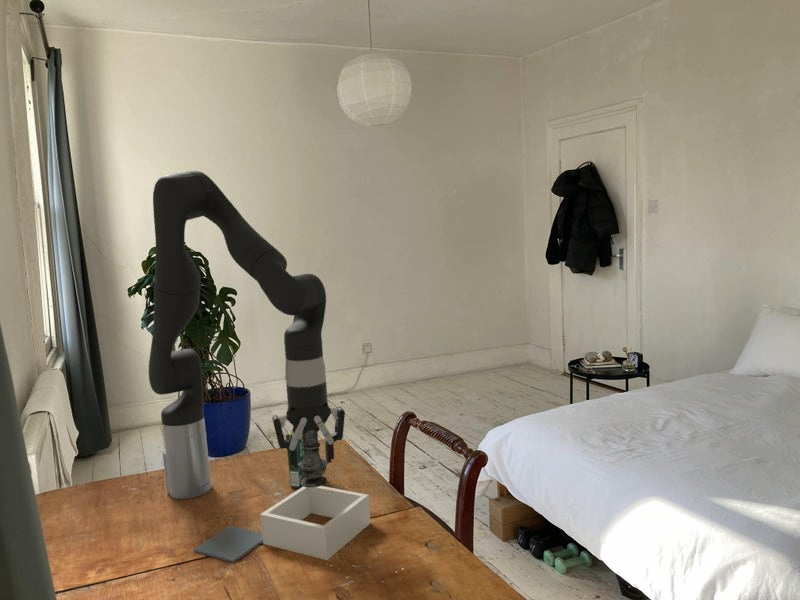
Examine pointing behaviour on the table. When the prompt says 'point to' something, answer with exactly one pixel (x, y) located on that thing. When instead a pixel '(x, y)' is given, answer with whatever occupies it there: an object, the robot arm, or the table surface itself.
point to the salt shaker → (312, 462)
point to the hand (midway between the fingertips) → (312, 463)
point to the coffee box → (294, 472)
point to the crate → (312, 538)
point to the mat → (231, 544)
